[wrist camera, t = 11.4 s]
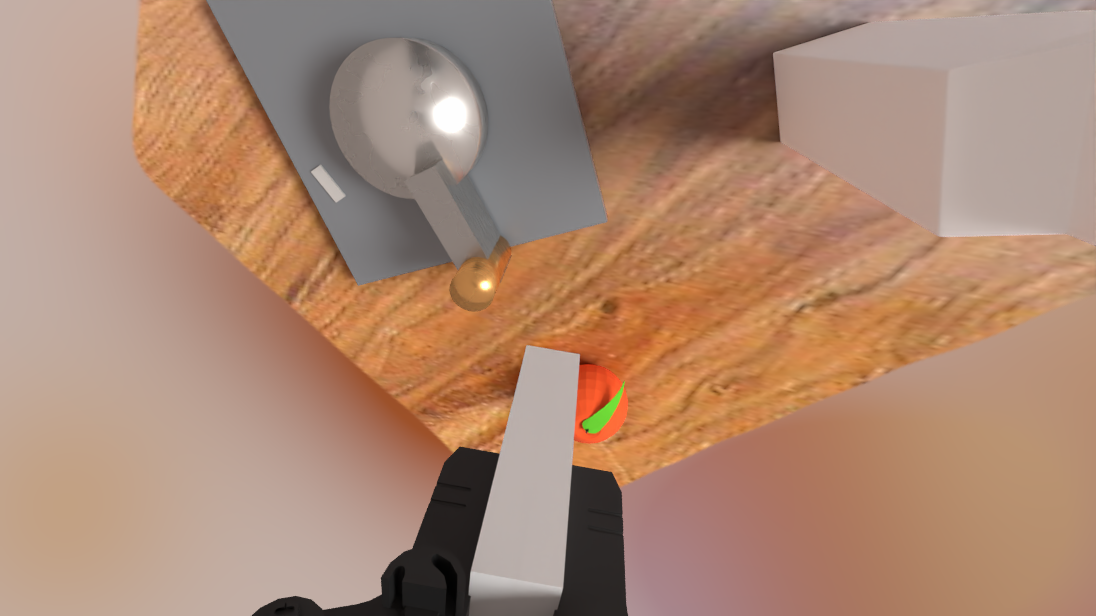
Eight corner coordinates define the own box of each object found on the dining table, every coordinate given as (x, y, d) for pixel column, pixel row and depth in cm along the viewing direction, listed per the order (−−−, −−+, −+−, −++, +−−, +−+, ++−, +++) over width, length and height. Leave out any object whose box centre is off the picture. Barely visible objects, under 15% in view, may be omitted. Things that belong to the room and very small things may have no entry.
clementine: (594, 328, 44) (592, 376, 38) (649, 371, 45) (657, 424, 39) (538, 380, 47) (529, 432, 41) (592, 418, 49) (590, 474, 43)
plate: (220, -1, 34) (202, -3, 32) (518, -132, 29) (513, -141, 27) (365, 278, 43) (357, 286, 42) (607, 215, 38) (607, 222, 37)
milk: (779, 142, 35) (989, 277, 16) (771, 50, 32) (1013, 78, 13) (874, 116, 33) (1231, 230, 14) (873, 18, 31) (1314, -4, 12)
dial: (321, 81, 34) (257, 91, 28) (440, 7, 31) (399, 0, 25) (450, 287, 41) (422, 333, 35) (557, 243, 38) (548, 284, 32)
